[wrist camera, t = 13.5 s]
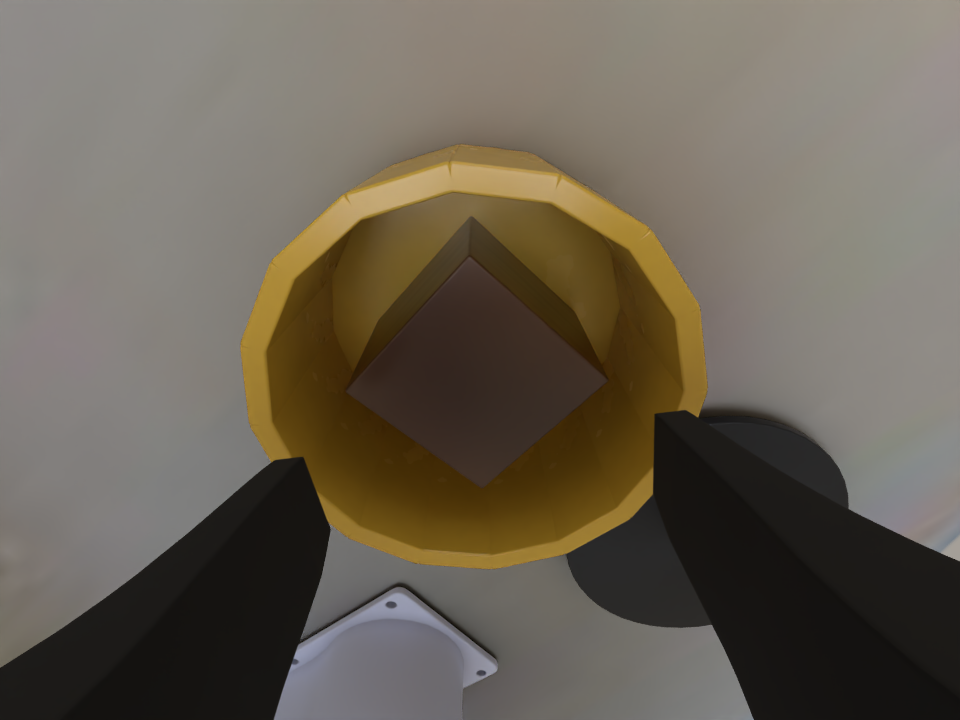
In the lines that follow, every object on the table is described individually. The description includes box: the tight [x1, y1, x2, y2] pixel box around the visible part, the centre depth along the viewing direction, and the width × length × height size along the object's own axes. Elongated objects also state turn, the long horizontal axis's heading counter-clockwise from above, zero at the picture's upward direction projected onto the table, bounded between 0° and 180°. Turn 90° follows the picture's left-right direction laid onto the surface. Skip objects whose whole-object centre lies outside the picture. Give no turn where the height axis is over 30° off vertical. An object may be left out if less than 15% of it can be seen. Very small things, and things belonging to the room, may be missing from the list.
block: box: [345, 216, 609, 488], centre depth 15 cm, size 5×5×5 cm
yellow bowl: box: [240, 144, 708, 569], centre depth 15 cm, size 11×11×6 cm
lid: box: [567, 416, 848, 628], centre depth 20 cm, size 12×12×5 cm
